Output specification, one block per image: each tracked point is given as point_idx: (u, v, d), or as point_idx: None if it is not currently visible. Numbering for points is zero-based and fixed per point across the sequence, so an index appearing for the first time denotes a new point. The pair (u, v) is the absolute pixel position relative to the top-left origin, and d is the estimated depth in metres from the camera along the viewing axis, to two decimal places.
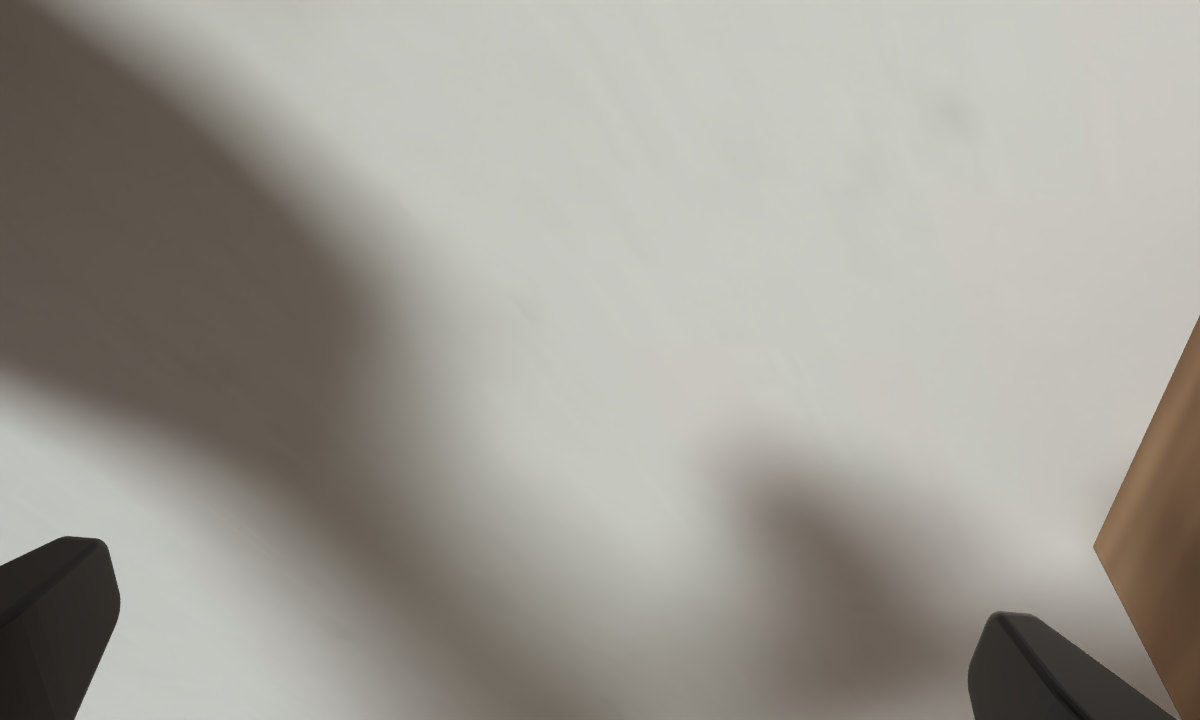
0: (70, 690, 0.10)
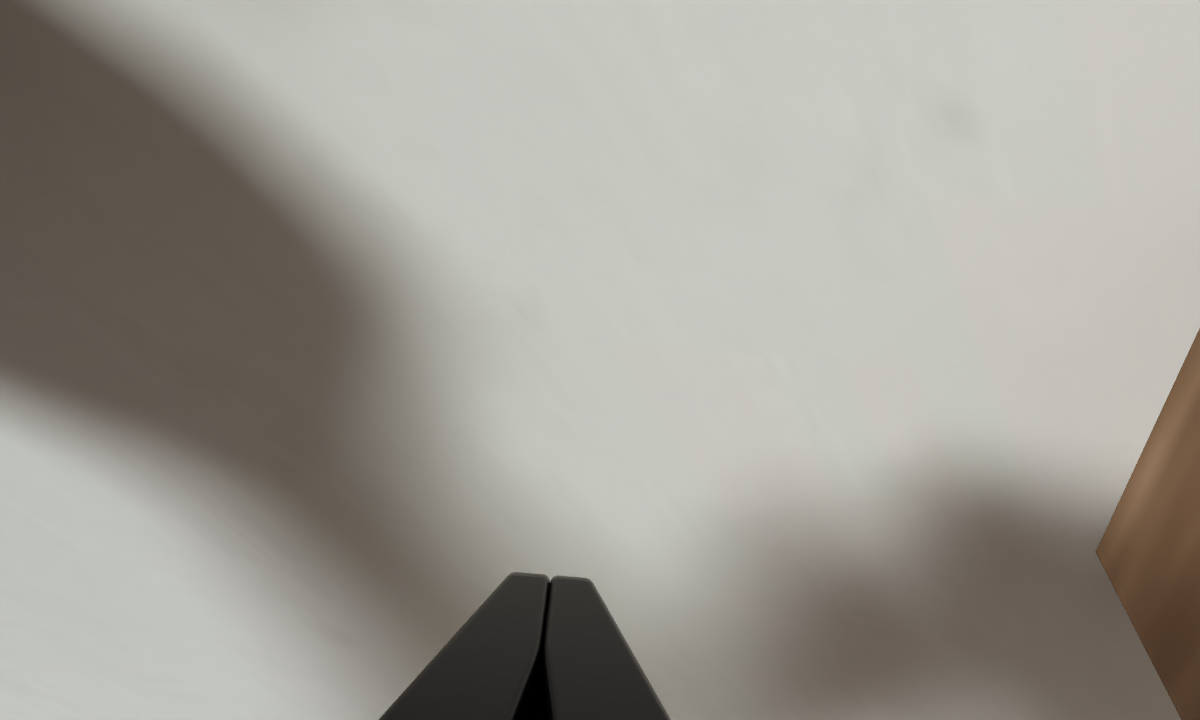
0: None
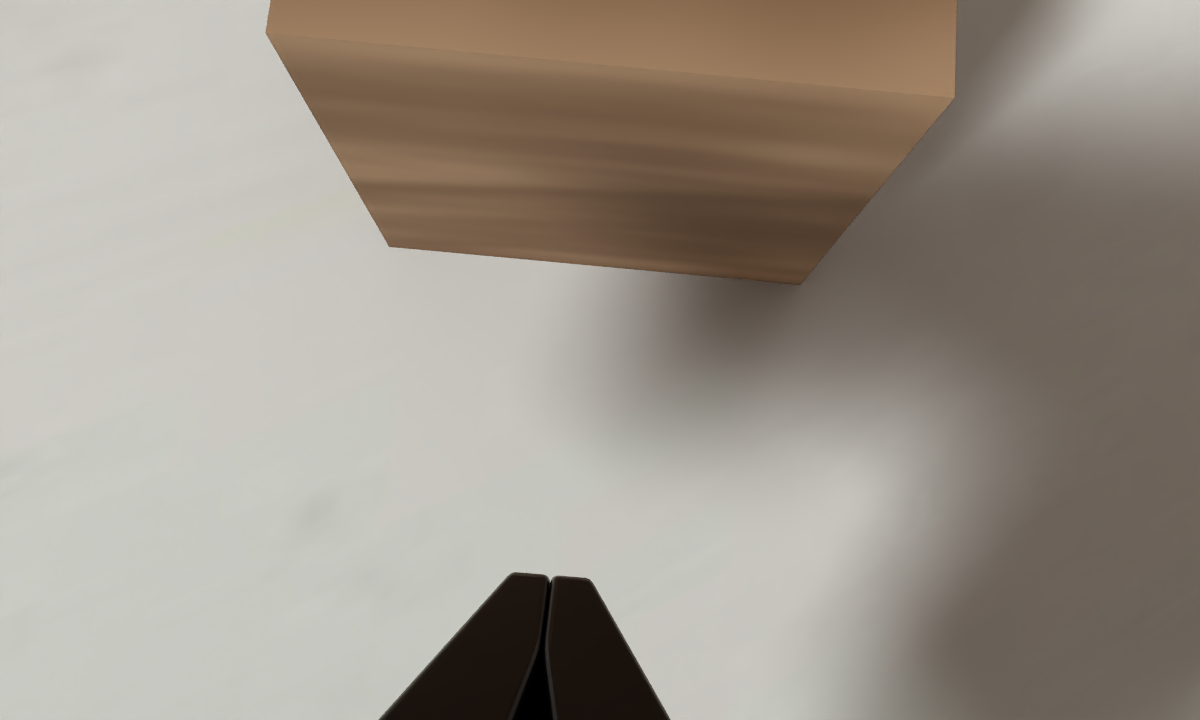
0: None
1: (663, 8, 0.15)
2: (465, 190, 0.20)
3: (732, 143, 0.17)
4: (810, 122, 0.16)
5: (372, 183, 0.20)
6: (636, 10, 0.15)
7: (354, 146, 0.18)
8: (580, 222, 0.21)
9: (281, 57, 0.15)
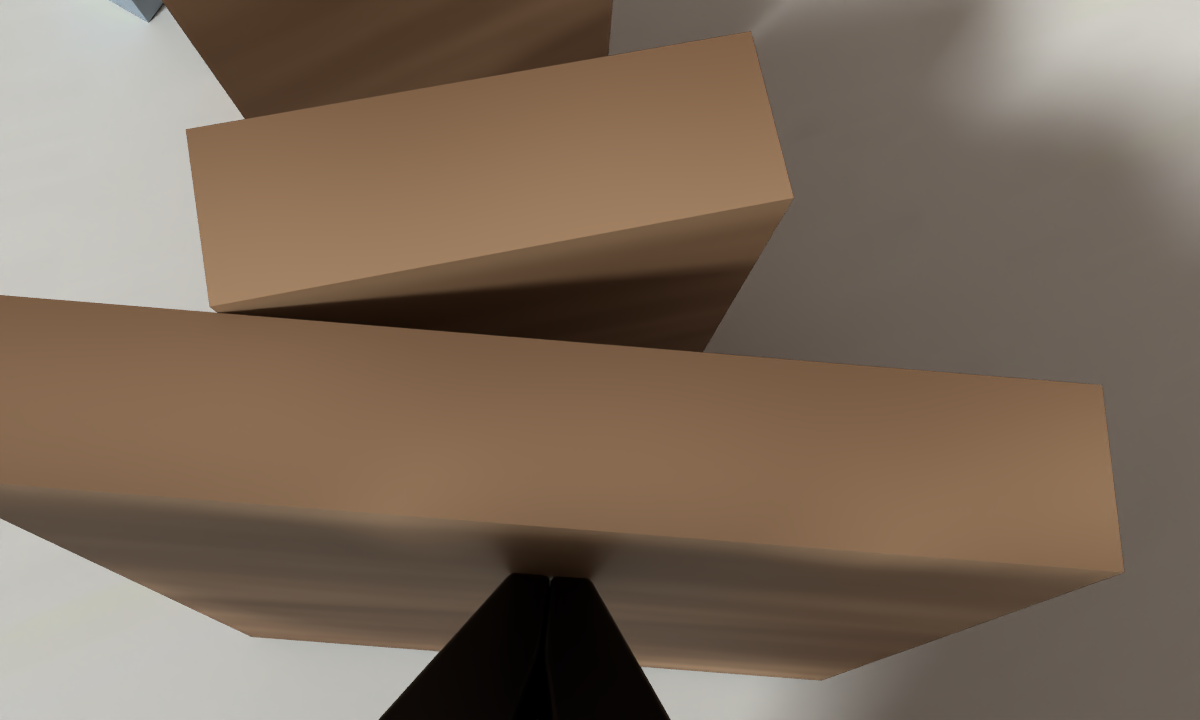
0: None
1: (613, 419, 0.09)
2: (334, 608, 0.13)
3: (733, 592, 0.10)
4: (864, 581, 0.09)
5: (195, 598, 0.14)
6: (568, 424, 0.09)
7: (147, 572, 0.12)
8: None
9: None
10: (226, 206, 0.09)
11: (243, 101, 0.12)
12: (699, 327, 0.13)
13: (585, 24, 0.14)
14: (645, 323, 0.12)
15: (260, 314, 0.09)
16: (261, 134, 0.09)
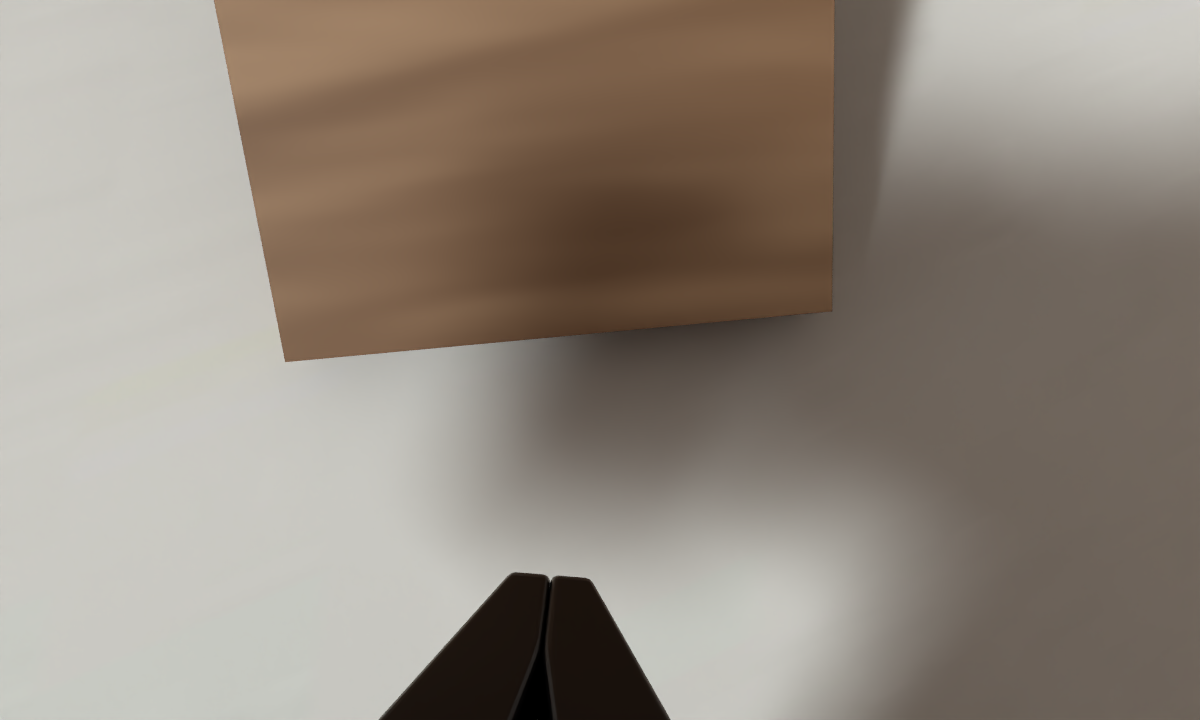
0: None
1: None
2: (375, 97, 0.17)
3: None
4: None
5: (261, 111, 0.17)
6: None
7: None
8: (522, 163, 0.17)
9: None
10: None
11: None
12: None
13: None
14: None
15: None
16: None
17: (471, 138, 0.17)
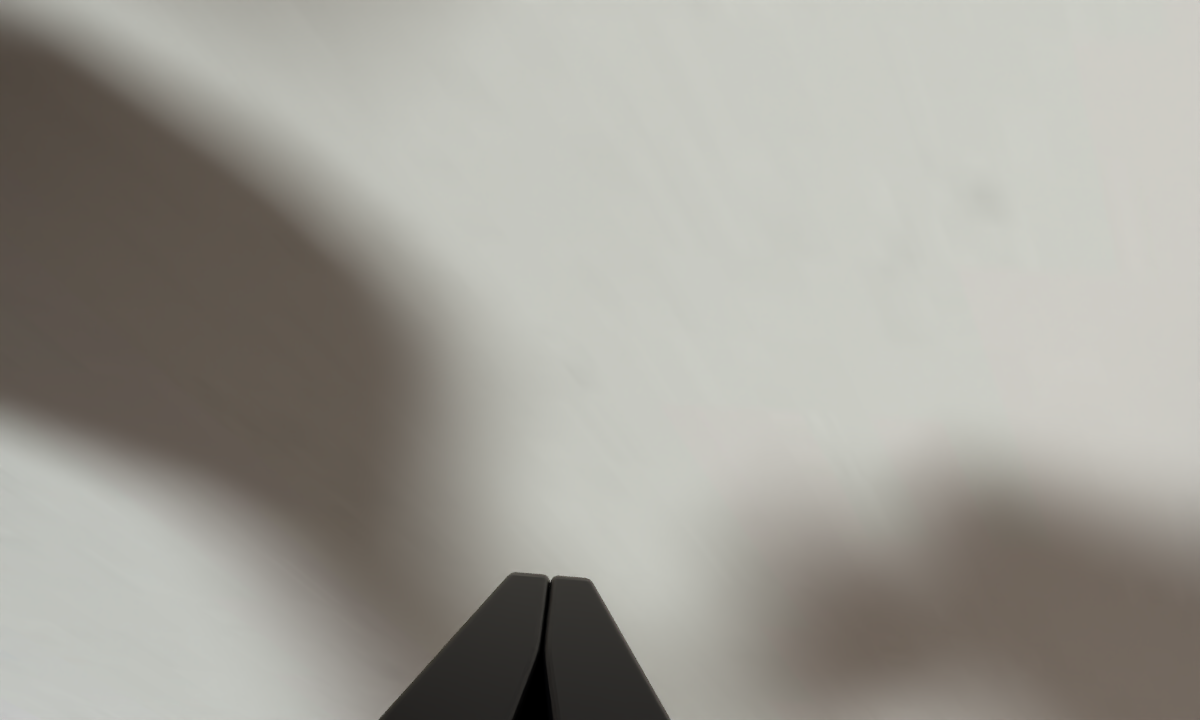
0: None
1: None
2: None
3: None
4: None
5: None
6: None
7: None
8: None
9: None
10: None
11: None
12: None
13: None
14: None
15: None
16: None
17: None
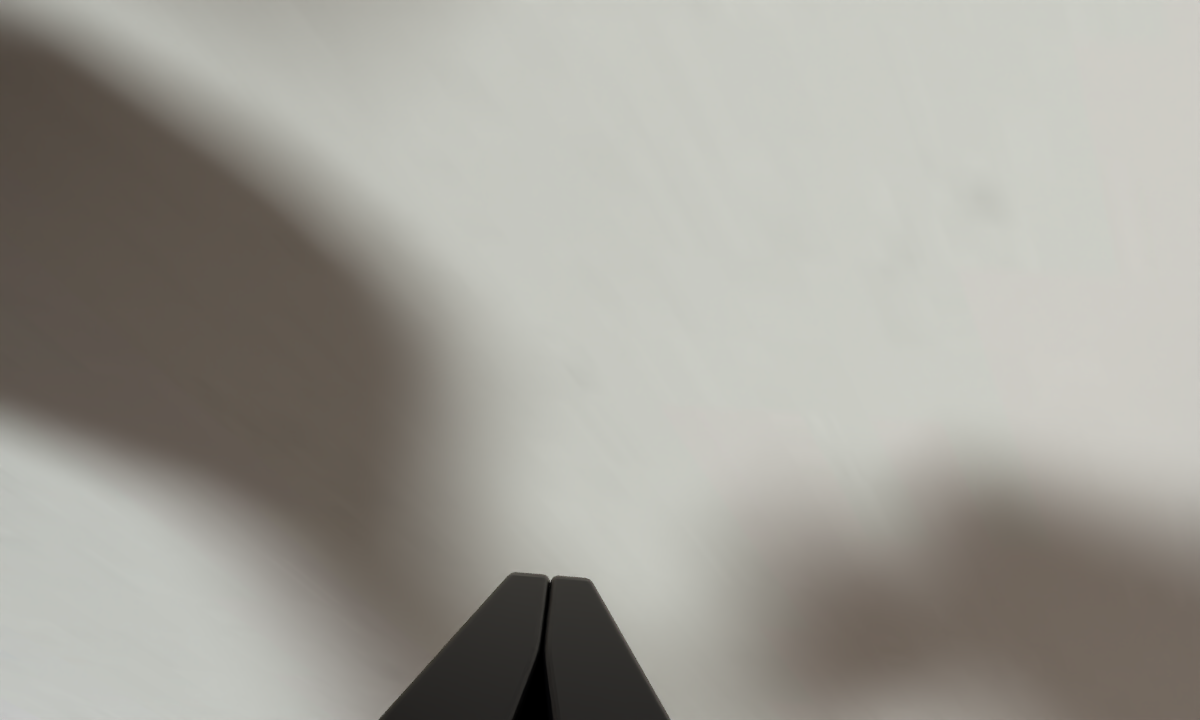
0: None
1: None
2: None
3: None
4: None
5: None
6: None
7: None
8: None
9: None
10: None
11: None
12: None
13: None
14: None
15: None
16: None
17: None
